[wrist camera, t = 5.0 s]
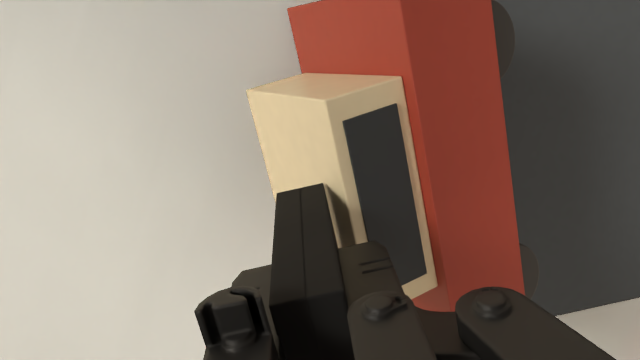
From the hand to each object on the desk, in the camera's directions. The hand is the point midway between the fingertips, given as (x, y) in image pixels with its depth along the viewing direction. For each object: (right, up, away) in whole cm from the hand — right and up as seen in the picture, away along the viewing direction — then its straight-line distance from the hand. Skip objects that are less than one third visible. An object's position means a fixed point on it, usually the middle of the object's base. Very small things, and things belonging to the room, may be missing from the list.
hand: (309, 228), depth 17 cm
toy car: (+1, +2, +7) cm, 7 cm away
